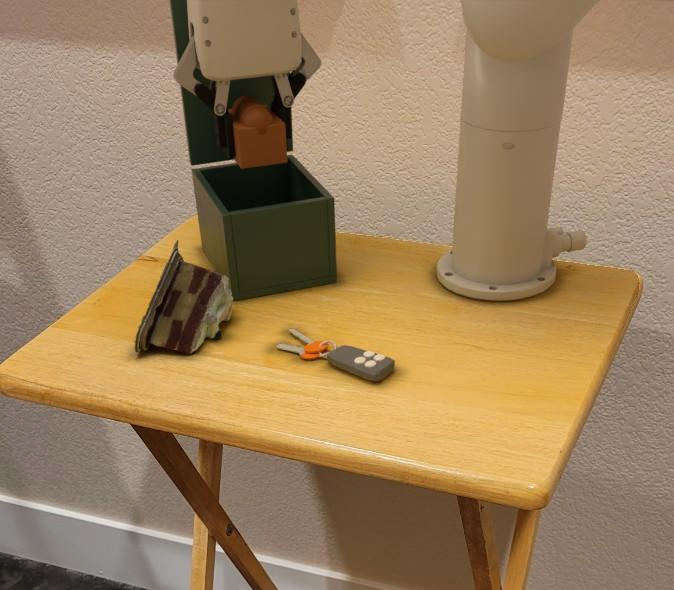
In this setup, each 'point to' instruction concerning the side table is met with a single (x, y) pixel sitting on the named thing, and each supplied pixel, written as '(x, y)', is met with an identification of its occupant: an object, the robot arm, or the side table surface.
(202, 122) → the bread lid
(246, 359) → the side table surface
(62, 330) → the side table surface
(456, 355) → the side table surface
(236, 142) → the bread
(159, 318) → the chocolate cake
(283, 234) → the box
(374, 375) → the key chain
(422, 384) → the side table surface
